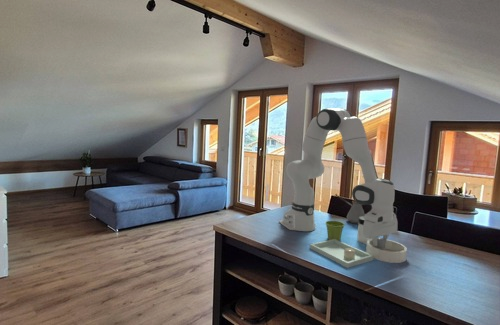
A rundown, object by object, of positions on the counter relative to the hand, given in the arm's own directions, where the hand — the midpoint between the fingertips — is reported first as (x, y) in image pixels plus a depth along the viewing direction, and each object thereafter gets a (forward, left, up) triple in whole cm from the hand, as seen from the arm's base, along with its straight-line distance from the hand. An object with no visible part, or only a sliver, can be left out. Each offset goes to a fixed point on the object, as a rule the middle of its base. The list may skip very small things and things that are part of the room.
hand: (379, 244), depth 133 cm
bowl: (+3, 0, -4) cm, 5 cm away
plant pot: (-22, -6, -4) cm, 23 cm away
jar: (-13, +7, -4) cm, 15 cm away
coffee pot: (-42, +29, -4) cm, 51 cm away
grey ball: (0, 0, -1) cm, 1 cm away
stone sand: (-2, -18, -4) cm, 18 cm away
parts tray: (-7, -18, -4) cm, 20 cm away
